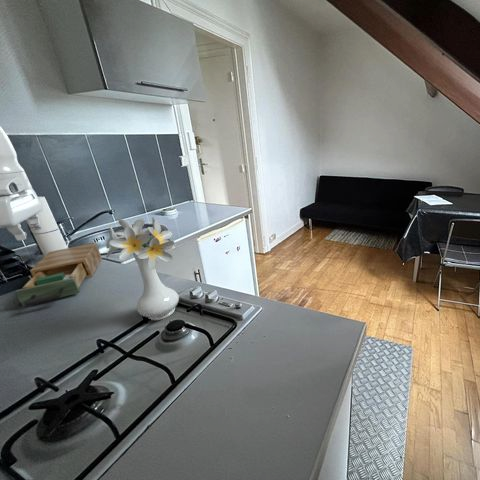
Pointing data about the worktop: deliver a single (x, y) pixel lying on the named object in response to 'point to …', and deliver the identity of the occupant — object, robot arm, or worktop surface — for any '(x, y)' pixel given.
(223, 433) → the worktop surface
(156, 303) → the flower vase
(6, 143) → the robot arm
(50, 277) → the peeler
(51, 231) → the cylindrical container
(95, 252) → the cabinet
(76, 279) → the drawer
